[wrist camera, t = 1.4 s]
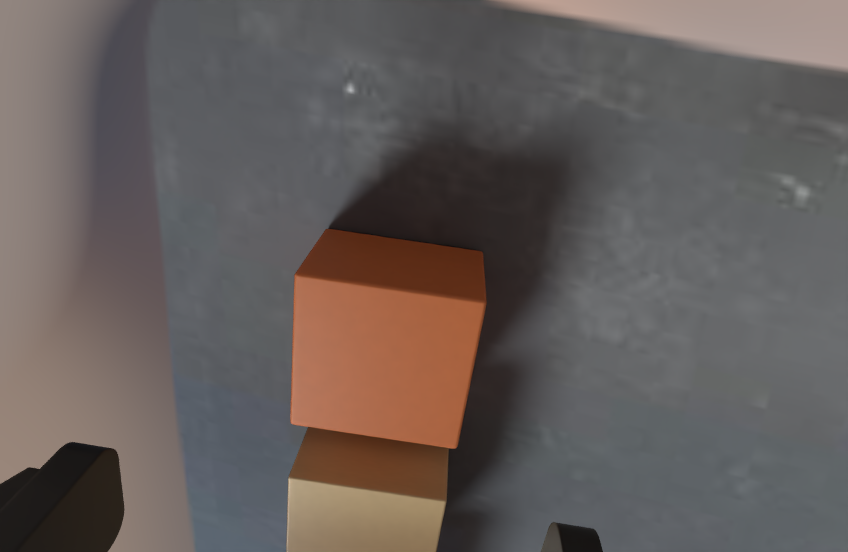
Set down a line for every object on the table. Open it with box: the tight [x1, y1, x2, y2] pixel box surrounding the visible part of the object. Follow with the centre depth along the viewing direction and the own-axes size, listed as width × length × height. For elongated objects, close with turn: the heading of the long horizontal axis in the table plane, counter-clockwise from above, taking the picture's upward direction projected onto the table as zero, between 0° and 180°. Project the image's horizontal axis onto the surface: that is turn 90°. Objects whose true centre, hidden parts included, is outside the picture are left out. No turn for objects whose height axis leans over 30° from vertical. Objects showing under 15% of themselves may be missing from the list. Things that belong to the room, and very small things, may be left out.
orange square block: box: [290, 229, 487, 449], centre depth 15 cm, size 5×5×3 cm
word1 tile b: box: [286, 427, 449, 552], centre depth 18 cm, size 5×5×3 cm
